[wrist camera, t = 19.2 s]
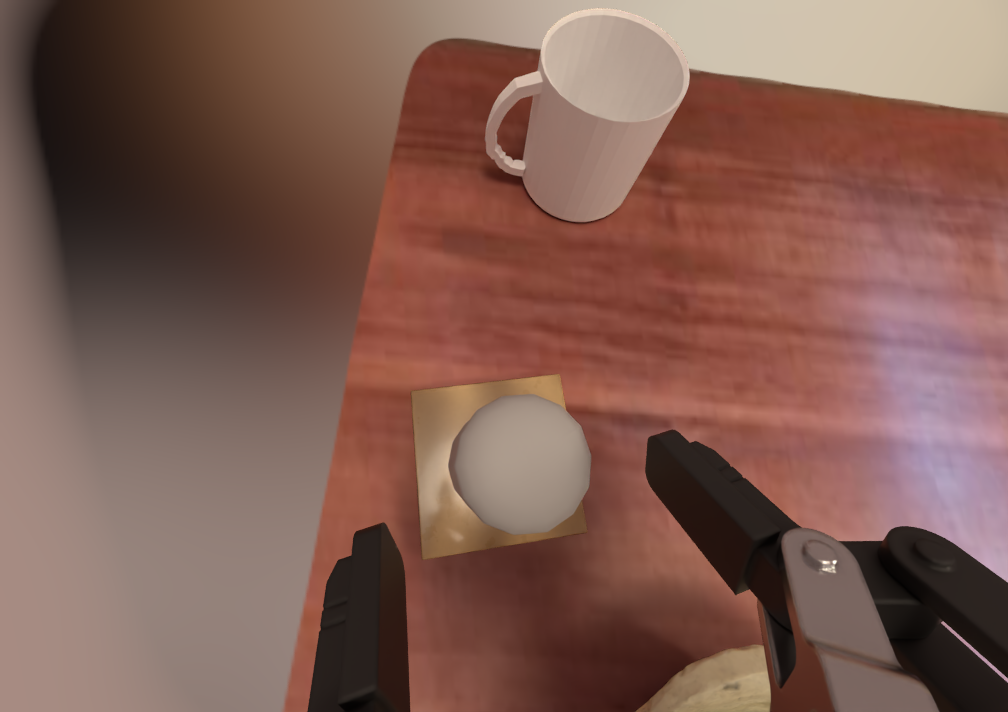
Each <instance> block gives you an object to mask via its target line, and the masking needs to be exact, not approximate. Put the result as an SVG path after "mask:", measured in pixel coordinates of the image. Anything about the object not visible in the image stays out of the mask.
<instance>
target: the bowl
mask: <svg viewBox="0 0 1008 712" xmlns="http://www.w3.org/2000/svg"><path fill="white" fill-rule="evenodd" d="M770 703H771V692H770V683H769V677H768V671H767V664H766V658H765V652H764V646H763V645H756V644H753V645H750V646H744V647H740V648H737V649H735V648H730V649H726V650H723V651H721V652H718V653H716V654H714V655H712V656H709V657H707V658H703V659H700V660H698V661H696V662H693V663H691V664H689V665H687V666H686V667H685V668H684V669H683V670H682V671H680V672H678V673H677V674H675V675H674V676H673V677H672V678H671V679H670V680H669V681H668V682H667V684H666V685H664V687H663V688H662V689H660V690H659V691H658V692H657V693H656V694H655V695H654V696H652V698H650V700H649V701H648V702H646V703H645V704H644V705H643V706H641V707H640V708H639V709H638V710H636V711H635V712H770Z"/></svg>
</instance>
